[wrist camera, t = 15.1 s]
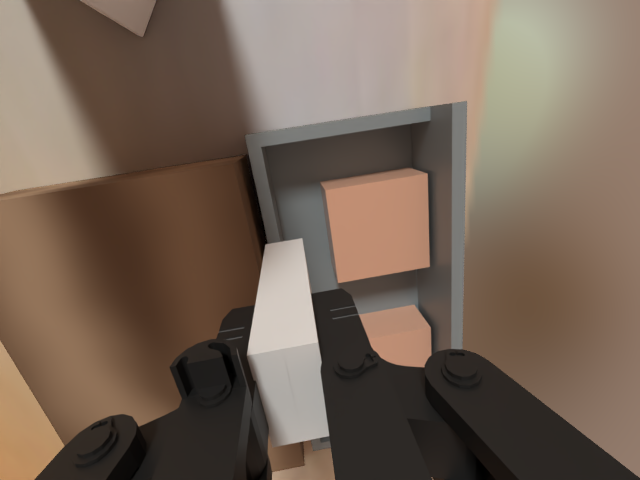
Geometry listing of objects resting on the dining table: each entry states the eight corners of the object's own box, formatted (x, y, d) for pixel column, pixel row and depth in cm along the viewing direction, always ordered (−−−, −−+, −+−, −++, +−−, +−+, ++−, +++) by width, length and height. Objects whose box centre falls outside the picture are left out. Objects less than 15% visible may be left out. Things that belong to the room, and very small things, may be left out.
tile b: (429, 266, 17) (412, 249, 19) (427, 173, 15) (408, 167, 17) (338, 283, 17) (331, 264, 19) (325, 190, 15) (319, 181, 17)
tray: (309, 412, 24) (315, 483, 19) (251, 133, 17) (238, 136, 12) (426, 389, 24) (460, 453, 19) (417, 108, 17) (466, 101, 12)
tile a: (432, 392, 20) (416, 364, 22) (430, 327, 18) (414, 304, 21) (355, 408, 20) (347, 378, 22) (346, 343, 18) (339, 318, 20)
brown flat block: (136, 436, 23) (102, 507, 18) (16, 190, 16) (-78, 213, 12) (301, 403, 23) (304, 465, 19) (246, 154, 17) (233, 163, 13)
